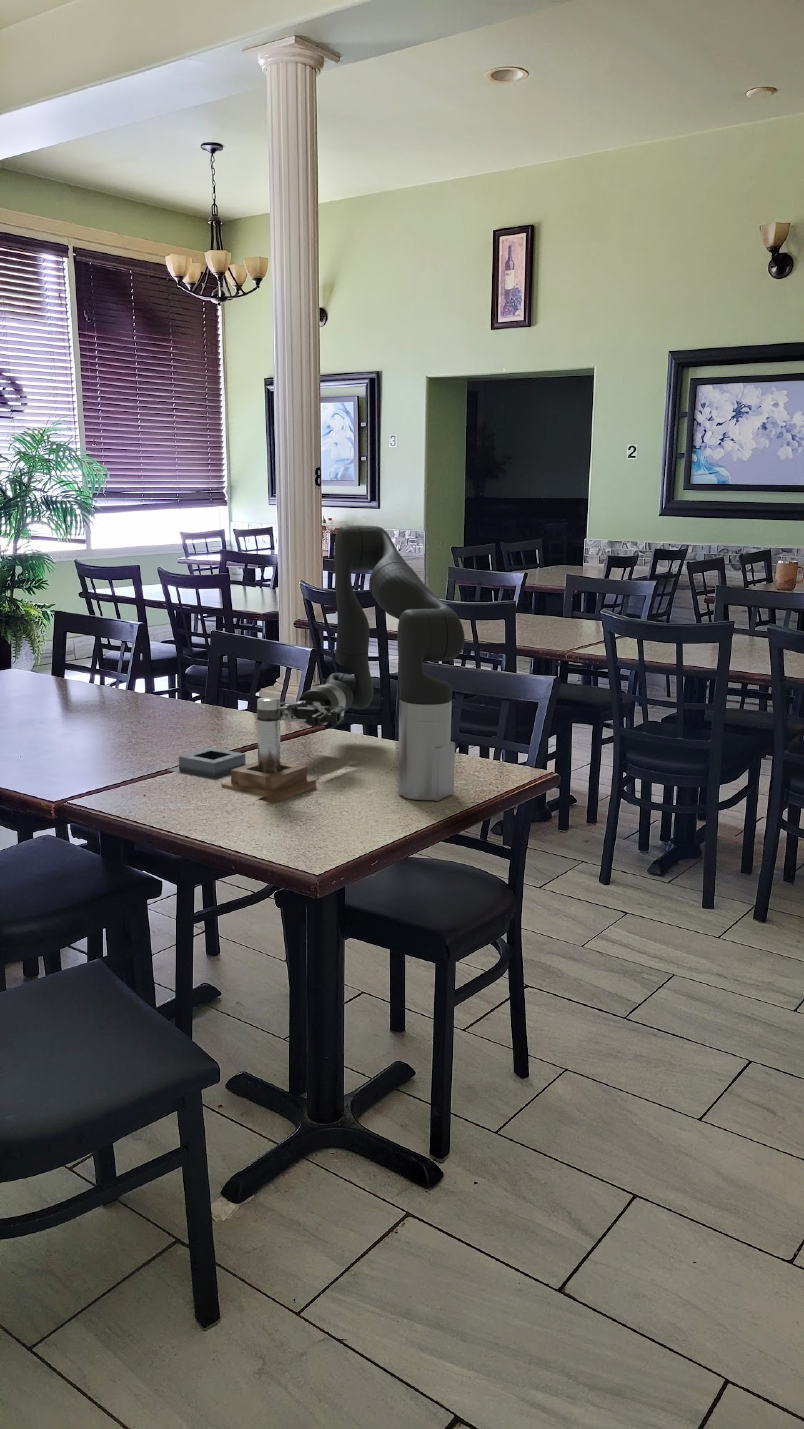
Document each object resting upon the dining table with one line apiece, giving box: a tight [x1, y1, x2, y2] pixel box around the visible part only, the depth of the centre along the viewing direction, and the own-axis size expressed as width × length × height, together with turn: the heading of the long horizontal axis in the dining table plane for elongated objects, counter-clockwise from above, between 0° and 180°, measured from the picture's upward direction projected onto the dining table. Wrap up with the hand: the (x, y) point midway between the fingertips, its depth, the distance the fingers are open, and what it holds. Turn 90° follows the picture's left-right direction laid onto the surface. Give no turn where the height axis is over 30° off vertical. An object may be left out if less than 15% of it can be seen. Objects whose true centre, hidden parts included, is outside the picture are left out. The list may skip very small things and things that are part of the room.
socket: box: [167, 747, 249, 781], centre depth 198 cm, size 12×12×4 cm
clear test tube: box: [256, 697, 281, 774], centre depth 186 cm, size 4×4×15 cm
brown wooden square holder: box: [221, 760, 317, 804], centre depth 187 cm, size 12×12×4 cm
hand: (292, 720), depth 196 cm, fingers open, 8 cm apart
